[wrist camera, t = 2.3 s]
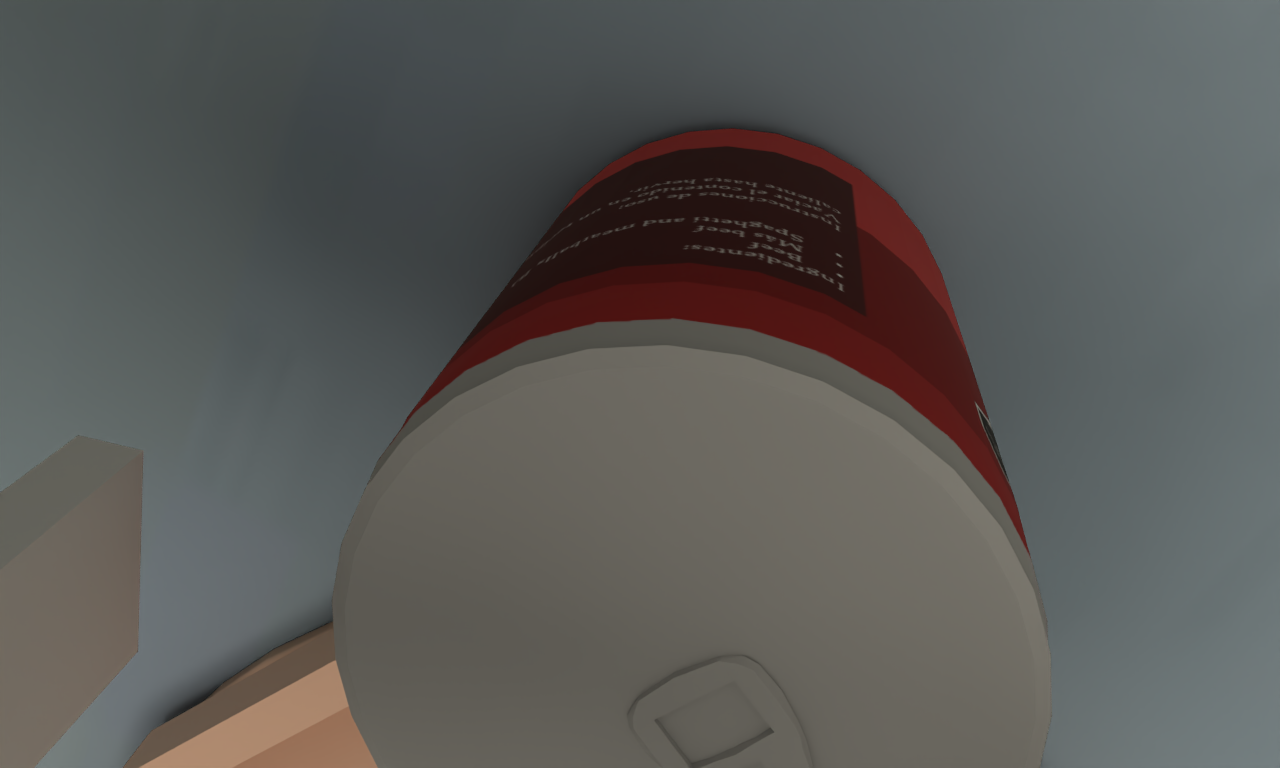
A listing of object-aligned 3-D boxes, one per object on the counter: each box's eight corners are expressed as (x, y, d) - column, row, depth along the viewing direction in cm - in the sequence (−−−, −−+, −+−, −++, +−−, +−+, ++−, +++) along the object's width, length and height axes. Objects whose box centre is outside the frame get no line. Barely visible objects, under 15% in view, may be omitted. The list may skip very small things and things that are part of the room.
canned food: (763, 580, 25) (728, 1064, 15) (454, 336, 24) (189, 683, 14) (1045, 319, 22) (1239, 701, 12) (710, 24, 21) (612, 173, 11)
